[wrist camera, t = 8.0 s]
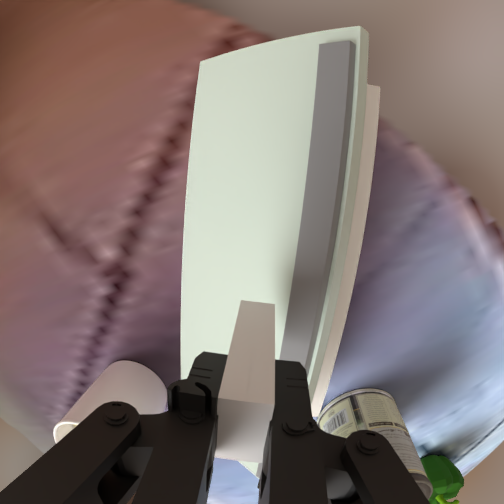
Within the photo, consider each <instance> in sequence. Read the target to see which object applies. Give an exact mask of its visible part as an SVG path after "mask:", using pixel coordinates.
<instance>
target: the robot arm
mask: <svg viewBox="0 0 504 504" xmlns="http://www.w3.org/2000/svg"><path fill="white" fill-rule="evenodd" d="M167 398H168V411H167V412H163V413H160V414H139V413H138V411H137V410H136V408H135V407H133V406H132V405H130V404H128V403H125V402H122V401H111V402H107V403H104V404H102V405H101V406H99V407H97V408H96V409H95V410H94V411H93V412H92V413H91V414H90V415H88V416H87V417H86V418H85V419H84V420H83V421H82V422H80V423H79V424H78V425H77V426H76V427H75V428H74V429H73V430H71V431H70V432H69V433H68V434H67V435H66V436H65V437H63V438H62V439H61V440H60V441H59V442H58V443H57V444H55V445H54V446H53V447H52V448H51V449H50V450H49V451H47V452H46V453H45V454H44V455H43V456H42V457H40V458H39V459H38V460H37V461H36V462H35V463H34V464H32V465H31V466H30V467H29V468H28V469H27V470H25V471H24V472H23V473H22V474H21V475H20V476H19V477H17V478H16V479H15V480H14V481H13V482H12V483H10V484H9V485H8V486H7V487H6V488H5V489H3V490H2V491H1V492H0V504H127V502H128V501H129V500H130V499H131V497H132V496H133V495H134V494H135V492H136V494H135V496H134V499H133V502H132V504H206V503H207V498H208V493H209V488H210V483H211V478H212V473H213V461H214V456H215V457H216V458H222V459H230V460H237V461H246V462H256V463H262V461H263V466H262V471H261V475H260V479H259V483H258V488H259V501H258V504H430V502H429V501H428V499H427V498H426V496H425V495H424V493H423V492H422V490H421V489H420V487H419V486H418V484H417V483H416V481H415V480H414V478H413V477H412V475H411V474H410V472H409V471H408V469H407V468H406V466H405V465H404V463H403V462H402V461H401V459H400V458H399V456H398V455H397V453H396V452H395V450H394V449H393V447H392V446H391V444H390V443H389V441H388V440H387V439H386V438H385V437H384V436H383V435H381V434H379V433H377V432H376V431H371V430H358V431H355V432H353V433H351V434H350V435H349V436H348V437H347V438H344V437H340V436H336V435H332V434H330V433H327V432H325V431H323V430H322V429H320V428H319V426H318V424H317V422H316V421H315V420H314V419H313V417H312V411H311V403H310V395H309V389H308V381H307V372H306V369H305V368H304V367H303V365H302V364H301V363H300V362H298V361H286V360H276V359H275V304H270V303H262V302H253V301H245V300H241V302H240V307H239V311H238V315H237V319H236V324H235V328H234V332H233V336H232V340H231V345H230V349H229V353H228V355H226V354H219V353H212V352H205V351H203V352H202V353H201V354H199V355H198V356H197V357H196V358H195V359H194V362H193V364H192V368H191V370H190V372H189V376H188V377H187V379H182V380H178V381H176V382H174V383H172V384H171V385H170V386H169V387H168V389H167Z"/></svg>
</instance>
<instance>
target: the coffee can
mask: <svg viewBox="0 0 504 504" xmlns="http://www.w3.org/2000/svg"><path fill="white" fill-rule="evenodd" d="M317 424H318V426H319V428H320V429H322V430H323V431H325V432H327V433H330V434H332V435H336V436H340V437H344V438H347V437H348V436H349V435H350V434H351V433H353V432H355V431H358V430H371V431H376V432H377V433H379V434H381V435H383V436H384V437H385V438H386V439H387V440H388V441H389V443H390V444H391V446H392V447H393V449H394V450H395V452H396V453H397V455H398V456H399V458H400V459H401V461H402V462H403V463H404V465H405V466H406V468H407V469H408V471H409V472H410V474H411V475H412V477H413V478H414V480H415V481H416V483H417V484H418V486H419V487H420V489H421V490H422V492H423V493H424V495H425V496H426V498H427V499H428V500H429V498H430V497H431V495H432V493H433V486H432V484H431V482H430V480H429V479H428V477H427V475H426V473H425V470H424V468H423V465H422V463H421V460H420V458H419V456H418V453H417V451H416V449H415V446H414V444H413V442H412V440H411V437H410V435H409V433H408V430H407V428H406V426H405V423H404V421H403V419H402V417H401V415H400V413H399V410H398V408H397V406H396V402H395V400H394V398H393V397H392V396H391V395H390V394H389V393H387V392H385V391H383V390H379V389H373V388H368V389H358V390H354V391H350V392H347V393H345V394H343V395H340V396H339V397H337V398H336V399H334V400H333V401H331V402H330V403H329V404H328V405H326V406H325V408H324V409H323V410H322V411H321V413H320V415H319V417H318V419H317Z"/></svg>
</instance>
